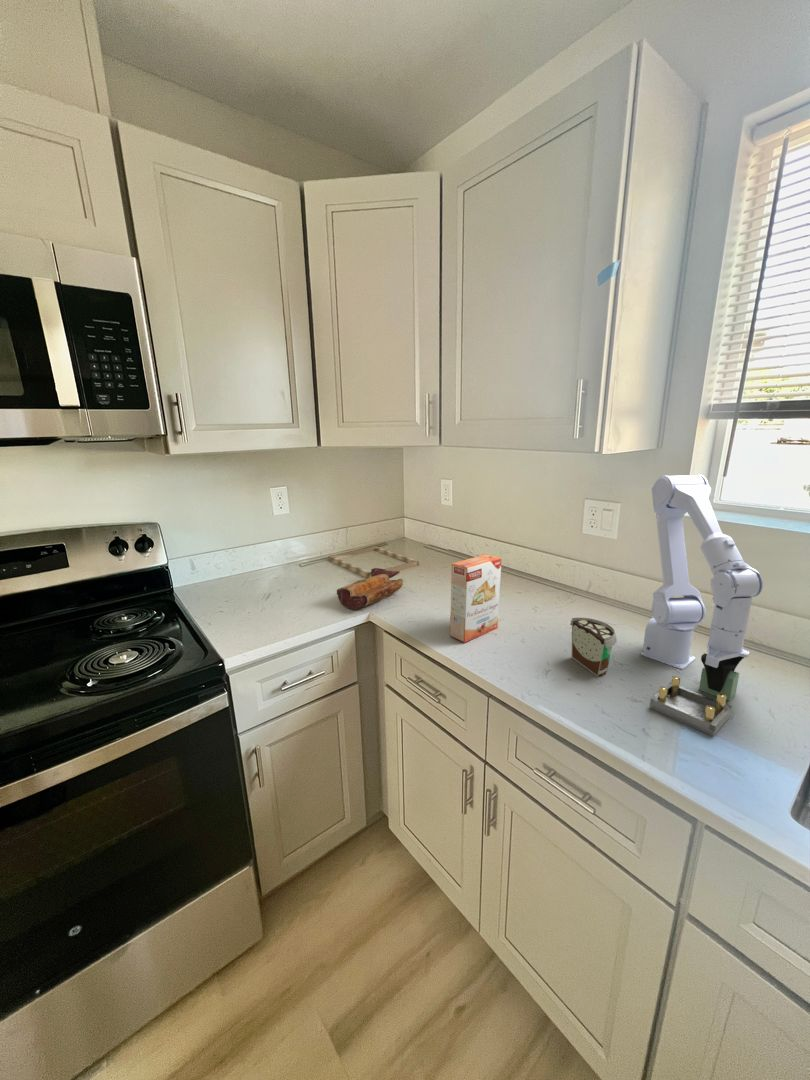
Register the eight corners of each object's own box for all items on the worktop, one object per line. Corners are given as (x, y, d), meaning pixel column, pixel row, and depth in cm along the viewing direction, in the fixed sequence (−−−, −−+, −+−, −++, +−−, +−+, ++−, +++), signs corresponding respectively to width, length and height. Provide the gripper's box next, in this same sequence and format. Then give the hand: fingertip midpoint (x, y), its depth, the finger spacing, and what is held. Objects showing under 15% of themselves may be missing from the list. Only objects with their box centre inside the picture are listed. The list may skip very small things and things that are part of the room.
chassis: (649, 708, 88) (652, 687, 87) (668, 691, 93) (671, 672, 92) (713, 736, 79) (717, 714, 78) (730, 716, 85) (734, 695, 84)
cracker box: (465, 644, 115) (467, 567, 110) (449, 636, 120) (449, 562, 114) (499, 628, 124) (502, 557, 119) (483, 622, 128) (485, 552, 123)
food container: (625, 676, 99) (630, 635, 97) (602, 680, 98) (607, 639, 95) (588, 650, 111) (592, 613, 108) (567, 654, 109) (570, 617, 107)
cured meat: (378, 564, 162) (378, 582, 163) (326, 583, 143) (327, 602, 144) (417, 573, 151) (417, 592, 152) (367, 595, 132) (368, 616, 133)
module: (698, 689, 94) (702, 665, 92) (705, 683, 96) (709, 660, 95) (729, 701, 90) (734, 676, 88) (735, 694, 92) (739, 670, 90)
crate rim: (329, 562, 188) (328, 556, 187) (375, 552, 202) (375, 546, 202) (369, 581, 164) (369, 573, 164) (419, 568, 179) (418, 561, 178)
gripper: (740, 644, 82) (728, 708, 85) (763, 622, 90) (752, 681, 94) (697, 631, 87) (688, 692, 90) (723, 612, 96) (713, 668, 99)
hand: (718, 686), depth 92 cm, fingers closed on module, 4 cm apart
